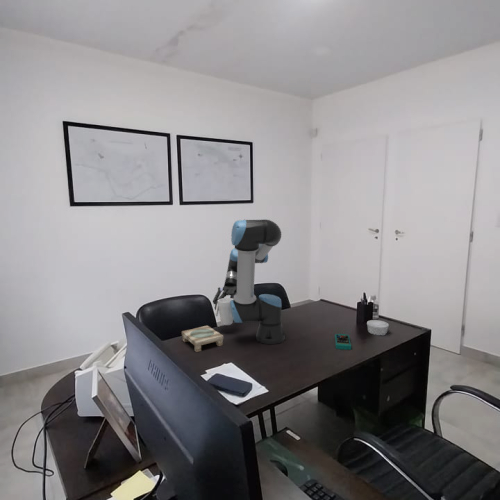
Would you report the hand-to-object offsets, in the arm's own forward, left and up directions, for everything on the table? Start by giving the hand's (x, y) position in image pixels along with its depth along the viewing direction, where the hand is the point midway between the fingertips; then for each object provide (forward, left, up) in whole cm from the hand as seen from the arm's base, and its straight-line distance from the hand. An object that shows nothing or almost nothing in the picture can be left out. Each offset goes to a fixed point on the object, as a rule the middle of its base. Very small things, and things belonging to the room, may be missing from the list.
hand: (225, 315), depth 183 cm
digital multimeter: (-45, -43, -12) cm, 63 cm away
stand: (-2, +15, -11) cm, 19 cm away
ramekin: (-45, -70, -11) cm, 84 cm away
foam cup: (+2, -2, -6) cm, 6 cm away
